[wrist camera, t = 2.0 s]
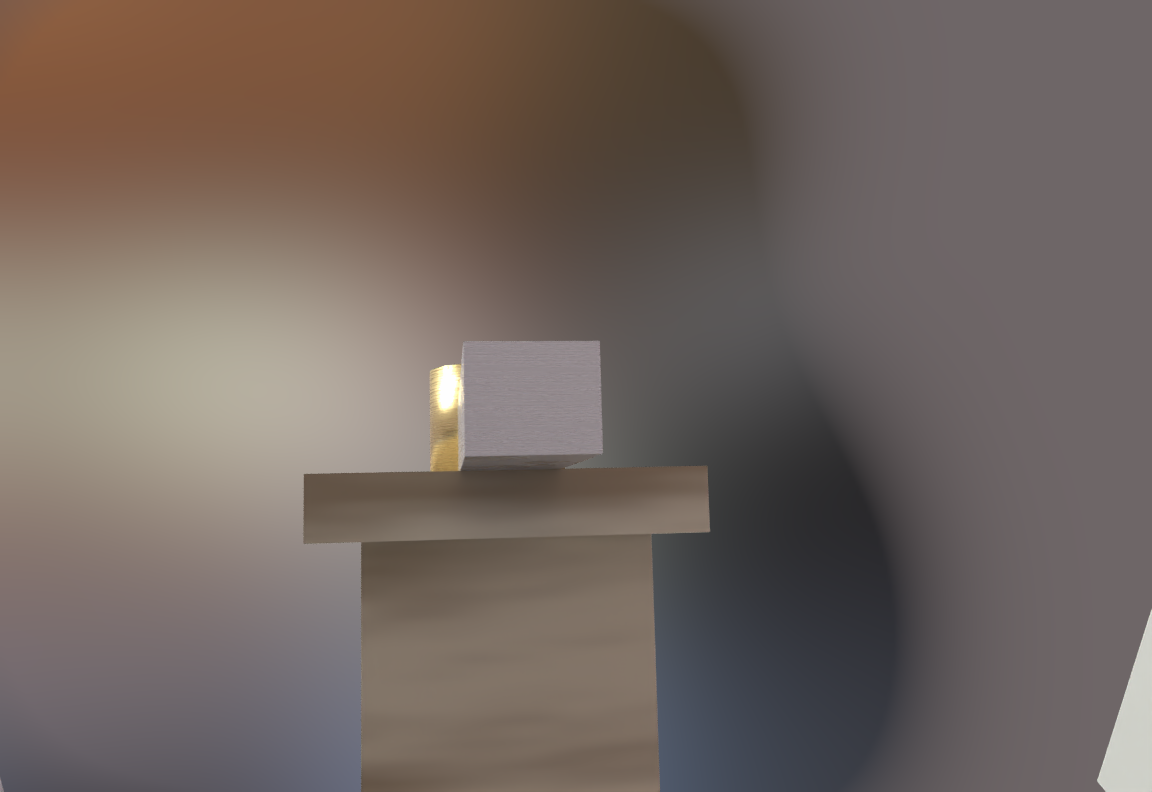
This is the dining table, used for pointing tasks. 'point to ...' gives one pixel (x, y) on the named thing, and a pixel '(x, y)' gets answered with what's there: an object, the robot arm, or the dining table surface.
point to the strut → (517, 406)
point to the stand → (507, 622)
